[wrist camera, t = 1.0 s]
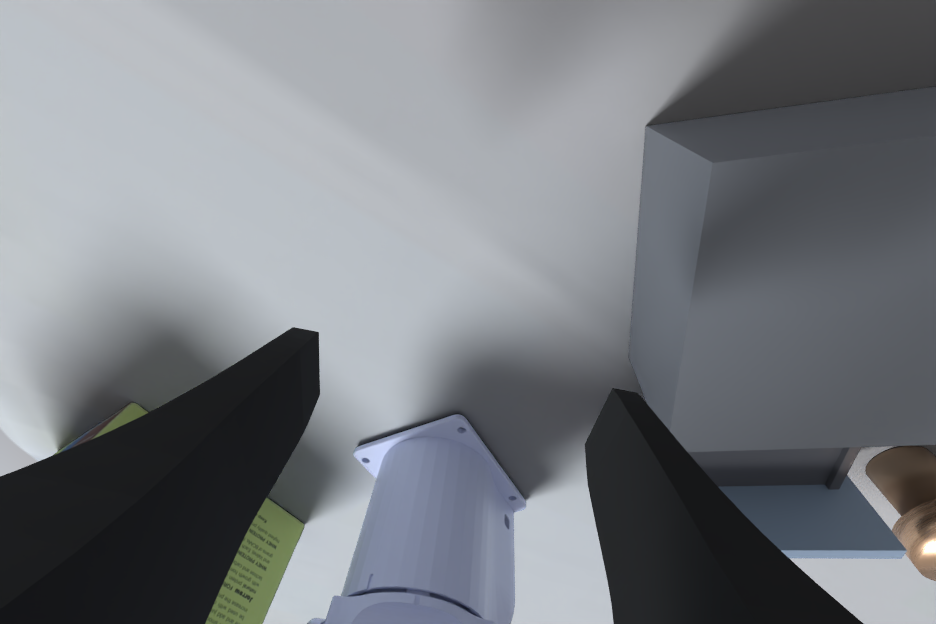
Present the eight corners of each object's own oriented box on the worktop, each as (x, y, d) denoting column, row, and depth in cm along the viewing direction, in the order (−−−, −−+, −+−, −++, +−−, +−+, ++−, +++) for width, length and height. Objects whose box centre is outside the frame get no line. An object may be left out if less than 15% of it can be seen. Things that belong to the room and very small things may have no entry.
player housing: (884, 341, 20) (1014, 442, 15) (628, 356, 21) (666, 452, 16) (1008, 76, 14) (1296, 91, 9) (645, 126, 16) (712, 162, 10)
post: (931, 474, 24) (991, 533, 21) (866, 487, 25) (915, 545, 22) (933, 439, 23) (996, 497, 20) (864, 454, 24) (914, 512, 21)
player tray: (836, 474, 24) (901, 558, 20) (623, 479, 25) (644, 557, 21) (916, 312, 18) (1030, 385, 14) (635, 332, 20) (667, 402, 16)
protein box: (131, 396, 26) (-248, 748, 13) (308, 523, 32) (173, 847, 19) (53, 451, 30) (-302, 766, 17) (225, 555, 36) (65, 844, 23)
